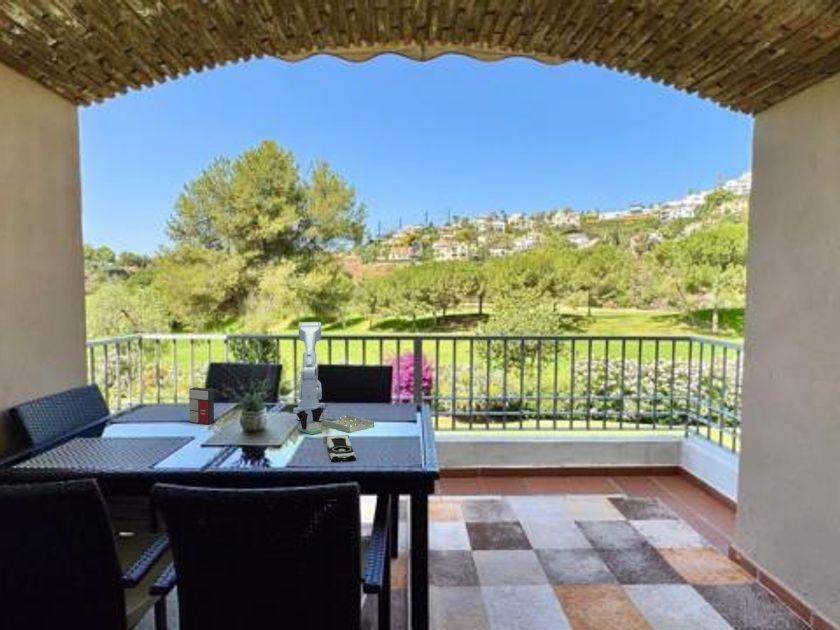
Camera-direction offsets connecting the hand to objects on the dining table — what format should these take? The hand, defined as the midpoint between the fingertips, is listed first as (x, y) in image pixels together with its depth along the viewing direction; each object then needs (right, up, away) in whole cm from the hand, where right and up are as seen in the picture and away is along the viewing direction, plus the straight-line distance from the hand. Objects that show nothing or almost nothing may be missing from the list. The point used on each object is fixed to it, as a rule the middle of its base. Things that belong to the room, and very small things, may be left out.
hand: (309, 427), depth 237 cm
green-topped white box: (0, -1, 0) cm, 1 cm away
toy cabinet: (-50, -1, +13) cm, 52 cm away
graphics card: (+16, -4, -27) cm, 31 cm away
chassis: (+15, -1, +9) cm, 18 cm away
